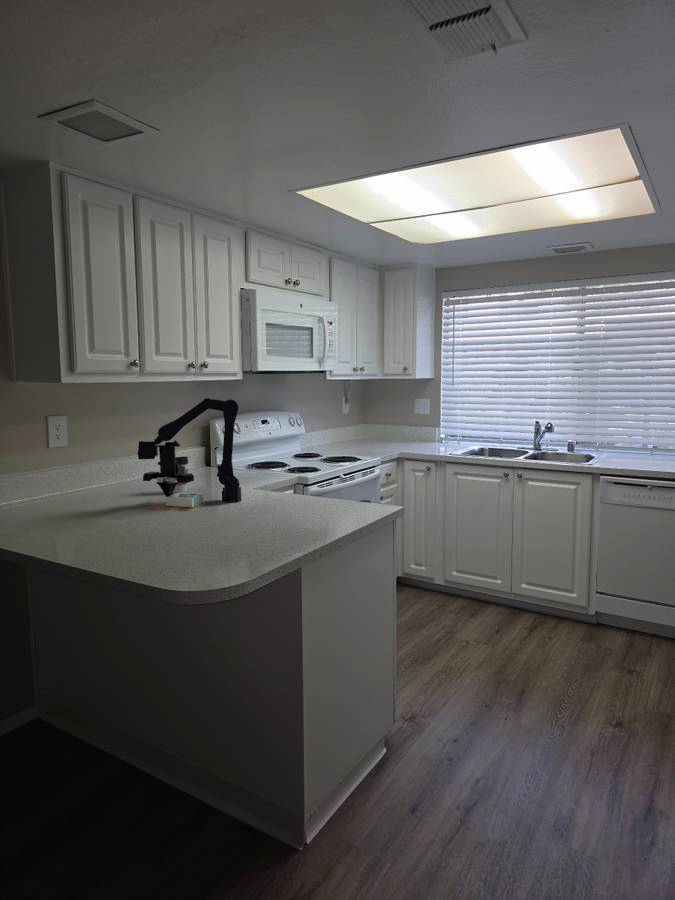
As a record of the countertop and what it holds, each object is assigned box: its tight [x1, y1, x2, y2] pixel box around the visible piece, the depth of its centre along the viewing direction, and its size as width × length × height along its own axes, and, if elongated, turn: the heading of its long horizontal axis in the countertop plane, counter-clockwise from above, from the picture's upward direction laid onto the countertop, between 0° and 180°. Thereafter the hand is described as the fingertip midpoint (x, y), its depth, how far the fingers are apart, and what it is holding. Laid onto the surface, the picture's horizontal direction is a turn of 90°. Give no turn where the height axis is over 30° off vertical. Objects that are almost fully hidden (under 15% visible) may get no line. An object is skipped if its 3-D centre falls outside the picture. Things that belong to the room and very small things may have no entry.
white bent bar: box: [165, 492, 205, 507], centre depth 230 cm, size 11×8×3 cm
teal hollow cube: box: [184, 493, 201, 507], centre depth 229 cm, size 4×4×4 cm
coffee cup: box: [172, 456, 189, 494], centre depth 258 cm, size 8×8×15 cm
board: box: [143, 500, 208, 513], centre depth 228 cm, size 18×14×1 cm
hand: (169, 499), depth 232 cm, fingers closed
